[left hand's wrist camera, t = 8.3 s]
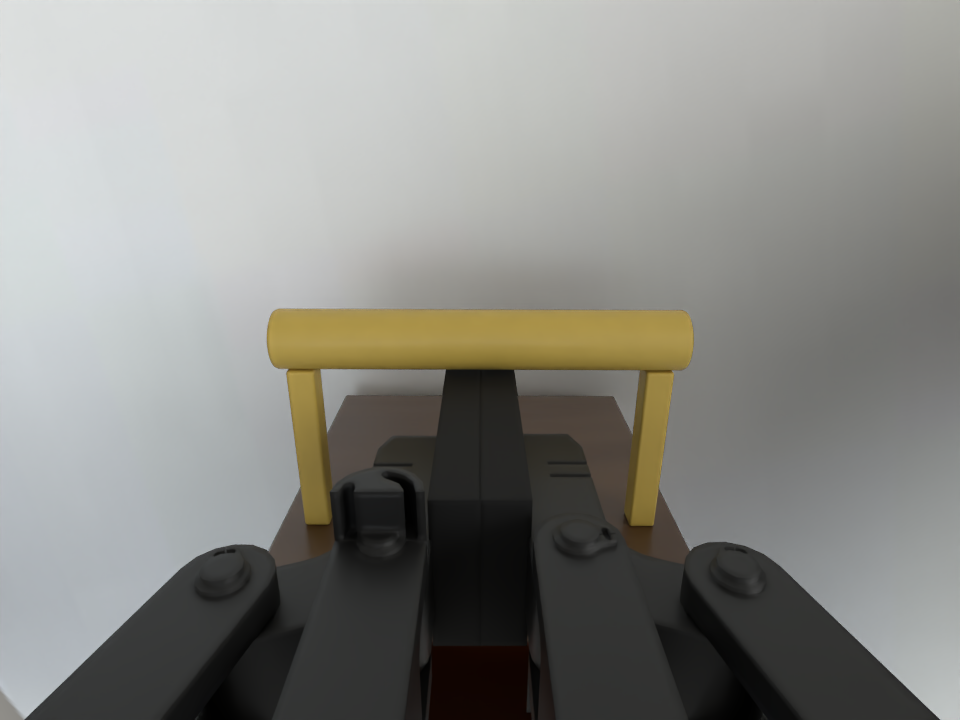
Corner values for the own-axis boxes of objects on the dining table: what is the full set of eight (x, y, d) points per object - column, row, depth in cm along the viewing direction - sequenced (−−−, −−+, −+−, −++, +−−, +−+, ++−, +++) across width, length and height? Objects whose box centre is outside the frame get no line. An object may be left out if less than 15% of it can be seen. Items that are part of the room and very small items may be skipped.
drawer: (332, 246, 19) (198, 354, 10) (627, 247, 19) (762, 357, 10) (375, 728, 27) (322, 1028, 18) (581, 728, 27) (632, 1029, 18)
